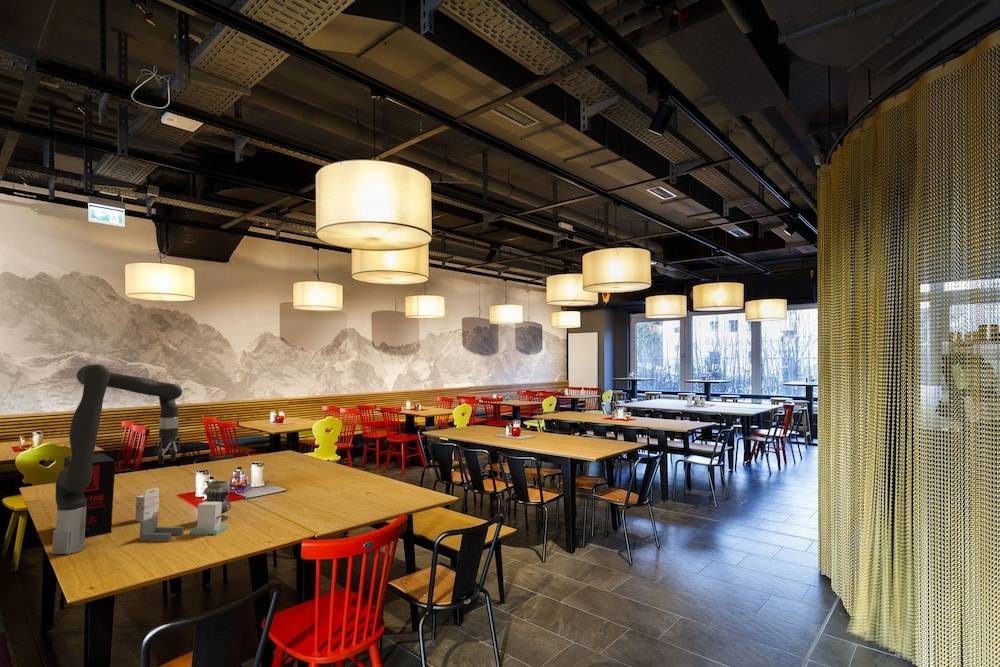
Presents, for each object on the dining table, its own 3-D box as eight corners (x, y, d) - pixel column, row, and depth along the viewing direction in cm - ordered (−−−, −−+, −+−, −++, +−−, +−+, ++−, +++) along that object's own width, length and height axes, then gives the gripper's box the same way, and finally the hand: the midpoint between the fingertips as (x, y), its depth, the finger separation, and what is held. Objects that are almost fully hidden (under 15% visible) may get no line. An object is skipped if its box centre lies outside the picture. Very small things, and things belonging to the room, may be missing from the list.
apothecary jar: (221, 514, 259) (223, 478, 260) (235, 518, 253) (237, 481, 254) (197, 520, 249) (198, 482, 250) (211, 524, 242) (213, 486, 244)
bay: (169, 541, 219) (170, 522, 220) (139, 540, 219) (140, 521, 220) (183, 534, 229) (184, 515, 229) (154, 533, 229) (155, 515, 229)
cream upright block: (216, 532, 230) (217, 504, 231) (196, 531, 230) (198, 504, 231) (222, 528, 235) (223, 501, 236) (203, 528, 235) (204, 501, 236)
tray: (216, 534, 228) (216, 530, 228) (189, 534, 228) (190, 529, 228) (227, 528, 237) (227, 524, 237) (202, 528, 237) (202, 523, 237)
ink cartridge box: (150, 516, 255) (151, 486, 256) (158, 517, 254) (159, 486, 255) (134, 521, 247) (136, 490, 248) (143, 522, 246) (144, 490, 247)
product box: (111, 532, 230) (115, 460, 232) (70, 540, 219) (74, 464, 221) (98, 520, 248) (102, 453, 250) (60, 527, 237) (64, 457, 239)
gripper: (166, 429, 232) (164, 465, 231) (186, 425, 246) (184, 459, 245) (150, 428, 232) (148, 465, 231) (170, 425, 246) (169, 459, 245)
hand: (167, 462), depth 238 cm, fingers open, 8 cm apart
